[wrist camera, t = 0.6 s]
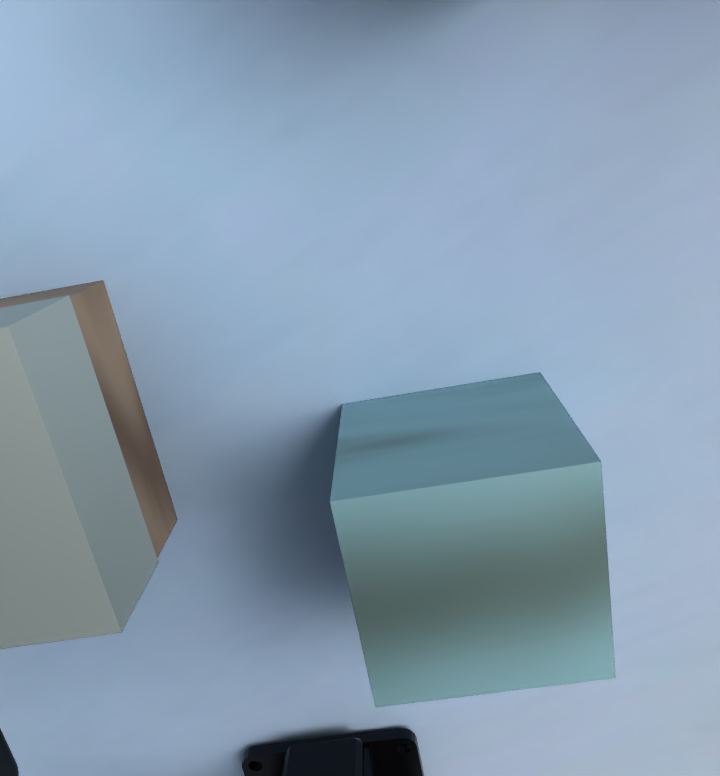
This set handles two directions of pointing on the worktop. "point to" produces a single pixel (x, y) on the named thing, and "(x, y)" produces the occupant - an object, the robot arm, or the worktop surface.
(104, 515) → the tower top
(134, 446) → the tower base
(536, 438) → the teal cube
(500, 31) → the worktop surface
